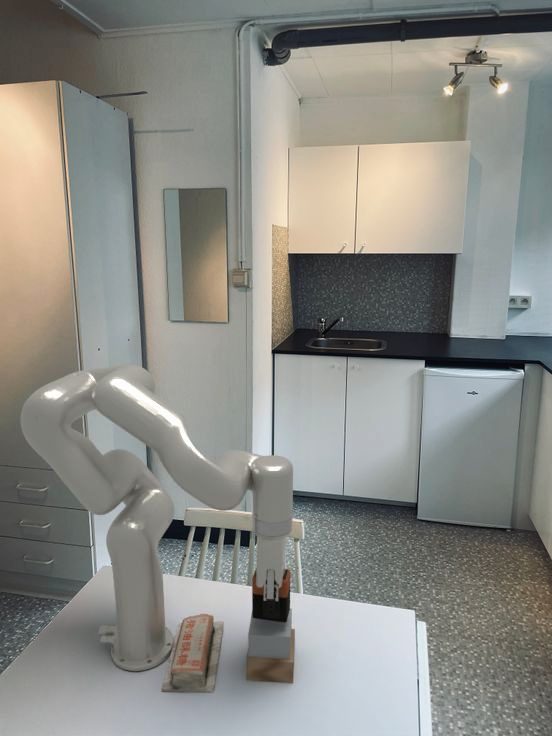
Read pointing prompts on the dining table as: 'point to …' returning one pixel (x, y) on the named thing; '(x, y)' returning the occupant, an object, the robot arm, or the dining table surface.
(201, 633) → the packaged product
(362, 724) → the dining table surface
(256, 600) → the battery
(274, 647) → the top block
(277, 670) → the bottom block
